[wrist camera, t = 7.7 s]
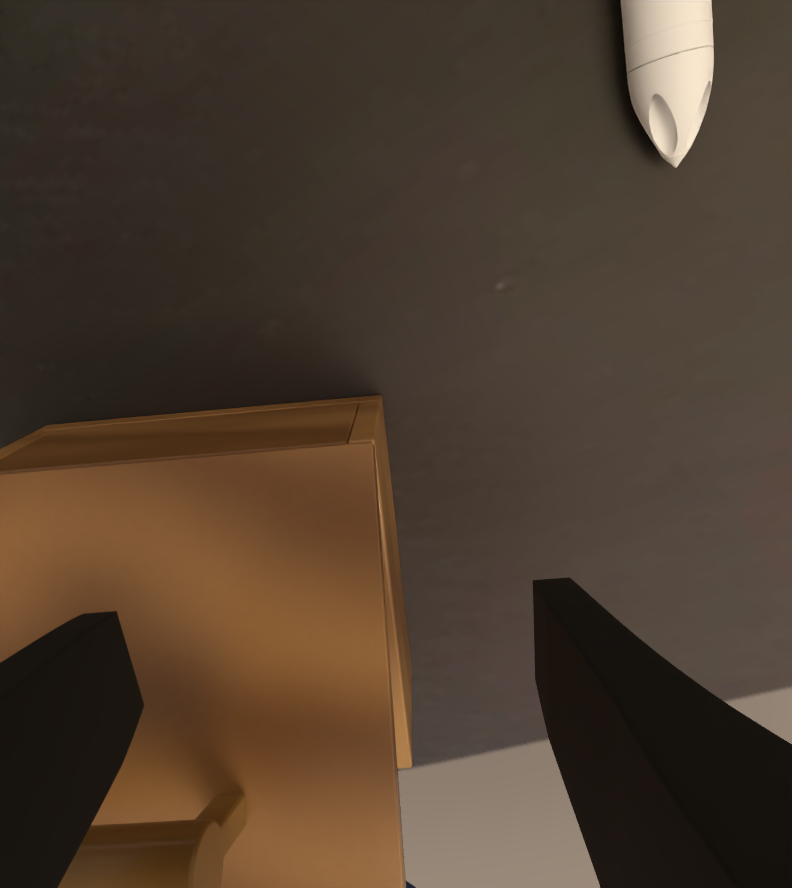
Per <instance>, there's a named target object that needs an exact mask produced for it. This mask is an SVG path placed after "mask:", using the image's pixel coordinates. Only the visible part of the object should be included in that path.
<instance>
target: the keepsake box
mask: <svg viewBox="0 0 792 888" xmlns="http://www.w3.org/2000/svg"><path fill="white" fill-rule="evenodd" d="M363 442H372V443H373V445H374V447H375V457H376V471H377V485H378V500H379V514H380V528H381V542H382V556H383V570H384V584H385V598H386V613H387V627H388V641H389V655H390V669H391V683H392V697H393V711H394V725H395V740H396V754H397V768H398V769H401V768H411V766H412V704H411V660H410V651H409V642H408V632H407V623H406V614H405V605H404V595H403V586H402V577H401V567H400V558H399V549H398V540H397V530H396V521H395V512H394V503H393V493H392V484H391V475H390V466H389V456H388V447H387V438H386V428H385V419H384V410H383V401H382V396H381V395H373V396H362V397H351V398H340V399H329V400H318V401H307V402H296V403H285V404H274V405H263V406H252V407H241V408H230V409H219V410H208V411H197V412H186V413H175V414H164V415H153V416H142V417H131V418H120V419H109V420H98V421H86V422H75V423H64V424H53V425H47V426H45V427H43V428H41V429H39V430H37V431H35V432H33V433H31V434H29V435H27V436H25V437H23V438H21V439H19V440H17V441H15V442H13V443H11V444H10V445H8V446H6V447H4V448H2V449H0V474H6V473H17V472H29V471H40V470H52V469H63V468H75V467H86V466H98V465H109V464H121V463H132V462H144V461H155V460H167V459H178V458H190V457H201V456H213V455H225V454H236V453H248V452H259V451H271V450H282V449H294V448H305V447H317V446H328V445H340V444H351V443H363Z"/></svg>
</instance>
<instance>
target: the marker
mask: <svg viewBox="0 0 792 888" xmlns="http://www.w3.org/2000/svg"><path fill="white" fill-rule="evenodd" d="M621 12H622V23H623V35H624V46H625V48H624V51H625V58H626V70H627V80H628V88H629V93H630V98H631V102H632V106H633V108H634V111H635V113H636V115H637V117H638V119H639V121H640V123H641V124H642V126H643V128H644V130H645V131H646V133H647V134H648V136H649V138H650V139H651V141H652V142H653V144H654V145H655V147H656V148H657V150H658V151H659V153H660V155H661V156H662V158H663V159H664V160H666V161H667V162H669V163H670V164H671V165H673V166H674V167H675V168H676V167H677V166H678V165H679V163H680V162H681V160H682V159H683V158H684V156H685V155H686V153H687V152H688V150H689V149H690V147H691V145H692V143H693V141H694V139H695V137H696V135H697V133H698V131H699V128H700V126H701V123H702V120H703V118H704V115H705V112H706V108H707V105H708V100H709V96H710V91H711V85H712V78H713V65H714V48H713V25H712V23H713V18H712V4H711V0H621ZM676 53H678V54H676ZM672 54H674V55H672ZM669 55H671V56H669ZM666 56H668V57H666ZM663 57H665V58H663ZM660 58H662V59H660ZM658 59H659V60H658ZM655 60H656V61H655ZM652 61H654V62H652ZM650 62H651V63H650ZM647 63H649V64H647ZM645 64H646V65H645ZM643 65H644V66H643ZM641 66H642V67H641ZM638 67H639V68H638ZM633 70H634V71H633Z"/></svg>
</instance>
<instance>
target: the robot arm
mask: <svg viewBox="0 0 792 888" xmlns="http://www.w3.org/2000/svg"><path fill="white" fill-rule="evenodd" d="M533 603H534V643H535V680H536V685H537V689H538V694H539V698H540V703H541V707H542V712H543V716H544V720H545V724H546V729H547V733H548V737H549V740H550V743H551V746H552V749H553V752H554V755H555V758H556V761H557V764H558V767H559V769H560V772H561V775H562V778H563V781H564V784H565V787H566V790H567V793H568V795H569V798H570V801H571V804H572V807H573V810H574V813H575V815H576V818H577V821H578V824H579V827H580V830H581V832H582V835H583V838H584V841H585V844H586V847H587V849H588V852H589V855H590V858H591V861H592V864H593V867H594V869H595V872H596V875H597V878H598V881H599V884H600V887H601V888H792V744H790V743H788V742H787V741H785V740H784V739H782V738H780V737H779V736H777V735H775V734H774V733H772V732H771V731H769V730H767V729H766V728H764V727H762V726H761V725H759V724H758V723H756V722H754V721H753V720H752V719H750V718H748V717H747V716H745V715H743V714H742V713H740V712H739V711H737V710H736V709H734V708H733V707H731V706H730V705H728V704H727V703H725V702H724V701H722V700H721V699H719V698H718V697H716V696H715V695H713V694H712V693H710V692H709V691H708V690H706V689H705V688H703V687H702V686H701V685H699V684H698V683H697V682H695V681H694V680H692V679H691V678H690V677H688V676H687V675H686V674H684V673H683V672H681V671H680V670H679V669H677V668H676V667H675V666H673V665H672V664H671V663H669V662H668V661H667V660H666V659H664V658H663V657H662V656H660V655H659V654H658V653H657V652H655V651H654V650H653V649H652V648H650V647H649V646H648V645H647V644H646V643H644V642H643V641H642V640H641V639H639V638H638V637H637V636H636V635H634V634H633V633H632V632H631V631H630V630H629V629H627V628H626V627H625V626H624V625H623V624H622V623H620V622H619V621H618V620H617V619H616V618H615V617H614V616H612V615H611V614H610V613H609V612H608V611H607V610H606V609H604V608H603V607H602V606H601V605H600V604H599V603H598V602H597V601H596V600H594V599H593V598H592V597H591V596H590V595H589V594H588V593H587V592H585V591H584V590H583V589H582V588H581V587H580V586H579V585H578V584H576V583H575V582H574V581H573V580H572V579H571V578H558V579H545V580H533ZM143 708H144V702H143V699H142V695H141V692H140V688H139V685H138V682H137V678H136V675H135V671H134V668H133V665H132V661H131V658H130V655H129V651H128V648H127V644H126V641H125V638H124V634H123V631H122V627H121V624H120V621H119V617H118V614H117V611H110V612H97V613H83V614H81V615H79V616H77V617H75V618H73V619H71V620H69V621H67V622H66V623H64V624H62V625H60V626H59V627H57V628H55V629H54V630H52V631H50V632H49V633H47V634H45V635H44V636H42V637H40V638H39V639H37V640H35V641H34V642H32V643H31V644H29V645H27V646H26V647H24V648H23V649H21V650H19V651H18V652H16V653H15V654H13V655H12V656H10V657H8V658H7V659H5V660H4V661H2V662H1V663H0V888H58V886H59V884H60V882H61V881H62V879H63V877H64V875H65V873H66V871H67V869H68V867H69V866H70V864H71V862H72V860H73V858H74V856H75V854H76V852H77V850H78V849H79V847H80V845H81V843H82V841H83V839H84V837H85V835H86V833H87V832H88V830H89V828H90V826H91V824H92V822H93V820H94V818H95V817H96V815H97V813H98V811H99V809H100V807H101V805H102V803H103V801H104V799H105V797H106V795H107V794H108V792H109V790H110V788H111V786H112V784H113V782H114V780H115V778H116V776H117V774H118V772H119V770H120V768H121V766H122V764H123V762H124V759H125V757H126V754H127V752H128V749H129V747H130V744H131V741H132V739H133V736H134V734H135V731H136V728H137V725H138V722H139V719H140V717H141V714H142V711H143Z"/></svg>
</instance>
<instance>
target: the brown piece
mask: <svg viewBox="0 0 792 888" xmlns="http://www.w3.org/2000/svg"><path fill="white" fill-rule="evenodd" d="M110 611H117V614H118V617H119V621H120V624H121V627H122V631H123V634H124V638H125V641H126V644H127V648H128V651H129V655H130V658H131V661H132V665H133V668H134V671H135V675H136V678H137V682H138V685H139V688H140V692H141V695H142V699H143V702H144V708H143V711H142V714H141V717H140V719H139V722H138V725H137V728H136V731H135V734H134V736H133V739H132V741H131V744H130V747H129V749H128V752H127V754H126V757H125V759H124V762H123V764H122V766H121V768H120V770H119V772H118V774H117V776H116V778H115V780H114V782H113V784H112V786H111V788H110V790H109V792H108V794H107V795H106V797H105V799H104V801H103V803H102V805H101V807H100V809H99V811H98V813H97V815H96V817H95V818H94V820H93V822H92V824H91V826H90V828H89V830H88V832H87V833H86V835H85V837H84V839H83V841H82V843H81V845H80V847H79V849H78V850H77V852H76V854H75V856H74V858H73V860H72V862H71V864H70V866H69V867H68V869H67V871H66V873H65V875H64V877H63V879H62V881H61V882H60V884H59V886H58V888H406V881H405V868H404V853H403V840H402V825H401V810H400V797H399V782H398V768H397V754H396V740H395V725H394V711H393V697H392V683H391V669H390V655H389V641H388V627H387V613H386V598H385V584H384V570H383V556H382V542H381V528H380V514H379V500H378V485H377V471H376V457H375V447H374V445H373V443H372V442H363V443H351V444H340V445H328V446H317V447H305V448H294V449H282V450H271V451H259V452H248V453H236V454H225V455H213V456H201V457H190V458H178V459H167V460H155V461H144V462H132V463H121V464H109V465H98V466H86V467H75V468H63V469H52V470H40V471H29V472H17V473H6V474H0V663H1V662H2V661H4V660H5V659H7V658H8V657H10V656H12V655H13V654H15V653H16V652H18V651H19V650H21V649H23V648H24V647H26V646H27V645H29V644H31V643H32V642H34V641H35V640H37V639H39V638H40V637H42V636H44V635H45V634H47V633H49V632H50V631H52V630H54V629H55V628H57V627H59V626H60V625H62V624H64V623H66V622H67V621H69V620H71V619H73V618H75V617H77V616H79V615H81V614H83V613H97V612H110Z"/></svg>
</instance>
